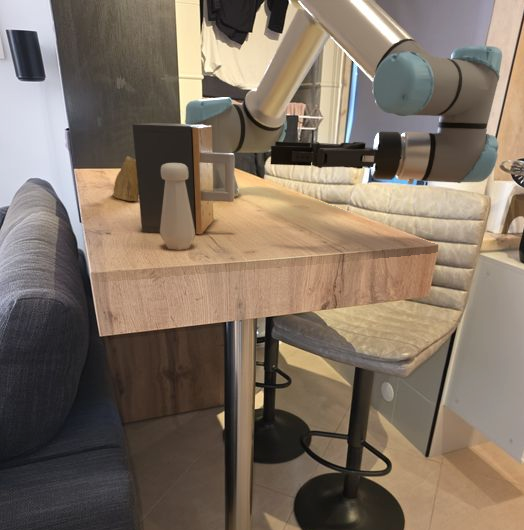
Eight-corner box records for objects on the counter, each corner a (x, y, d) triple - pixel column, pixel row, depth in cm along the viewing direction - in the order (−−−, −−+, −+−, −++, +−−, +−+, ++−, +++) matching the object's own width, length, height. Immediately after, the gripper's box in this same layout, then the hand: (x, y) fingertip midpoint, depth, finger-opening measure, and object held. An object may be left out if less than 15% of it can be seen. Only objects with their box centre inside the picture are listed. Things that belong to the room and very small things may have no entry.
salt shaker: (165, 252, 73) (158, 165, 67) (157, 243, 77) (151, 161, 71) (200, 249, 75) (197, 165, 69) (190, 241, 80) (187, 161, 74)
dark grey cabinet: (207, 220, 95) (205, 124, 87) (195, 234, 84) (190, 126, 76) (161, 217, 96) (154, 122, 88) (142, 232, 84) (132, 124, 76)
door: (241, 220, 95) (241, 126, 87) (232, 235, 83) (232, 128, 75) (209, 219, 95) (206, 125, 87) (196, 233, 84) (192, 127, 76)
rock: (148, 193, 110) (154, 181, 118) (122, 162, 105) (130, 152, 113) (116, 219, 113) (123, 206, 121) (89, 190, 108) (99, 179, 116)
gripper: (409, 190, 68) (267, 184, 69) (382, 172, 90) (275, 168, 91) (418, 134, 64) (269, 129, 65) (388, 130, 86) (277, 126, 88)
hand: (272, 152), depth 78 cm, fingers open, 13 cm apart
